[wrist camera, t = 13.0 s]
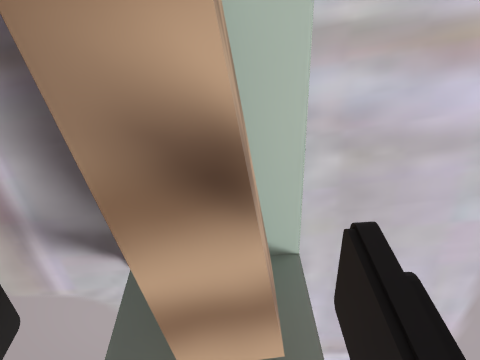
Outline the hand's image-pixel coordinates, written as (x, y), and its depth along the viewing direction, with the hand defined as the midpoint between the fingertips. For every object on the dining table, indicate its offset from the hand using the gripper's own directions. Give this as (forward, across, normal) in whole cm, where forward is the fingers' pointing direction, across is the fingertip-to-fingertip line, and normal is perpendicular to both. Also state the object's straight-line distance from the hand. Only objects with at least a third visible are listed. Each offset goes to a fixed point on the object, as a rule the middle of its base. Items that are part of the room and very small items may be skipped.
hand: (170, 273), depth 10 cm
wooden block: (+9, 0, -1) cm, 9 cm away
